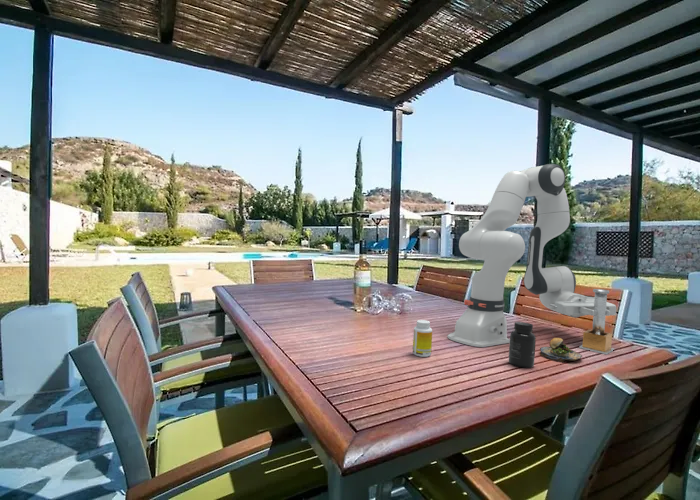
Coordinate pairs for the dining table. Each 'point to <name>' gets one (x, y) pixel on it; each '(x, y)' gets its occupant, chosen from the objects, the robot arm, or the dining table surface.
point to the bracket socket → (597, 342)
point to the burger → (558, 351)
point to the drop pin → (599, 311)
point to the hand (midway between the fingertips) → (601, 313)
